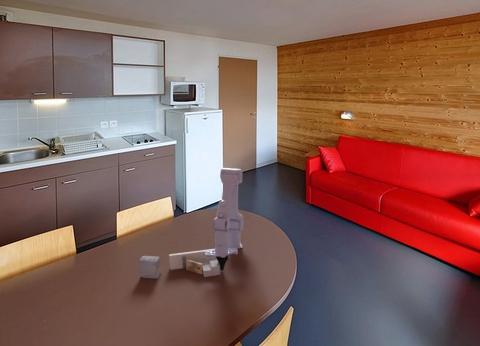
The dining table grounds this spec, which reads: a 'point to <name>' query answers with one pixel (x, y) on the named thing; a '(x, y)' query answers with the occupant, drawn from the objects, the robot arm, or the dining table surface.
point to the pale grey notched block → (211, 268)
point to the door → (194, 266)
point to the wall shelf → (189, 258)
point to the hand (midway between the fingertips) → (221, 269)
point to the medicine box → (150, 267)
